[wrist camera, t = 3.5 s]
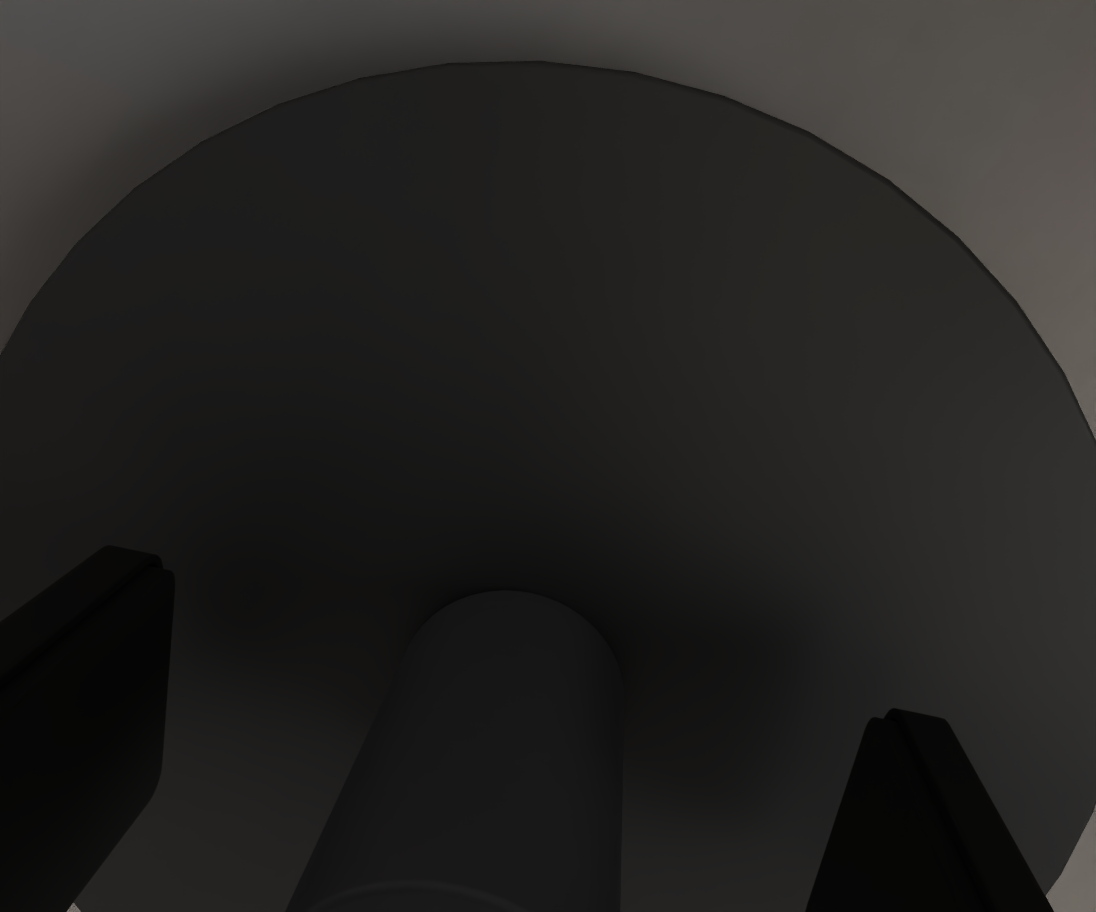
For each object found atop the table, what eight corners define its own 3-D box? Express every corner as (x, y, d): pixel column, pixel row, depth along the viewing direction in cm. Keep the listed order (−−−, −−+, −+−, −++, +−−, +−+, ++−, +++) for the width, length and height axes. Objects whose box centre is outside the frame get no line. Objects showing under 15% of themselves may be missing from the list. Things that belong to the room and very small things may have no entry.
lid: (-173, 666, 14) (-743, 1025, 8) (438, -234, 10) (172, -768, 4) (575, 1201, 16) (541, 1805, 10) (1339, 619, 12) (2010, 1059, 6)
